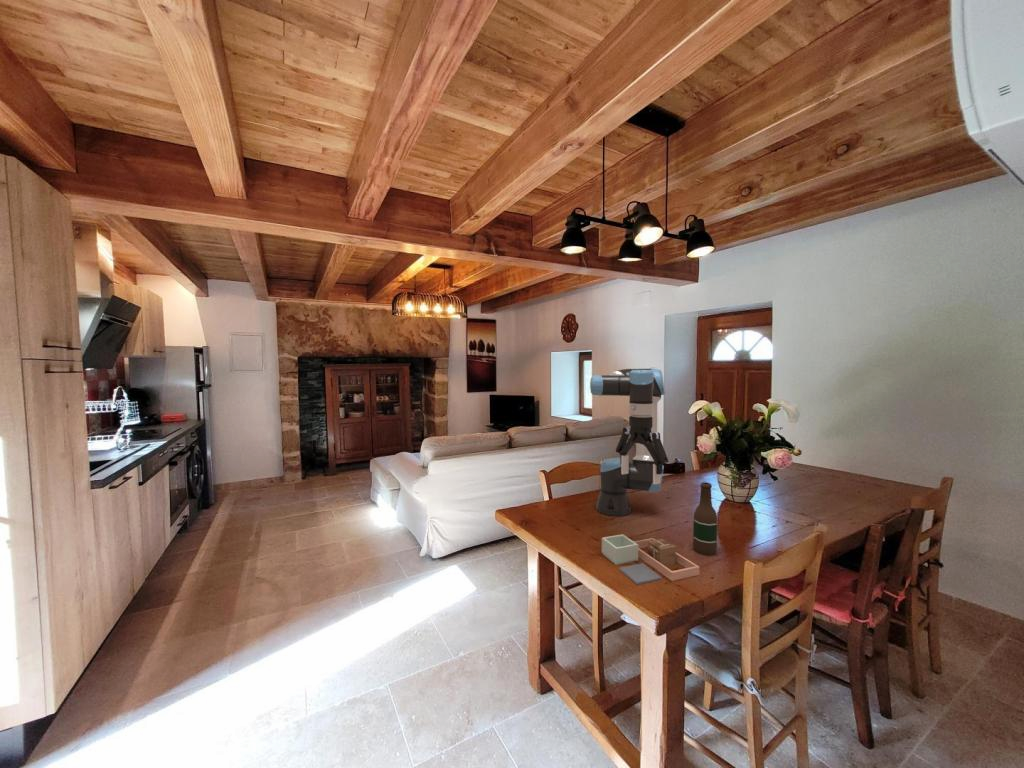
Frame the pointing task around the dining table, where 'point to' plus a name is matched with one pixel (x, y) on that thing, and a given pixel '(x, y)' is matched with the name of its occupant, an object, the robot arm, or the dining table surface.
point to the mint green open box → (619, 549)
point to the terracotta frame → (672, 575)
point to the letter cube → (662, 551)
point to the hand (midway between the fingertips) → (640, 478)
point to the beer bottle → (705, 523)
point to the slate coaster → (640, 573)
